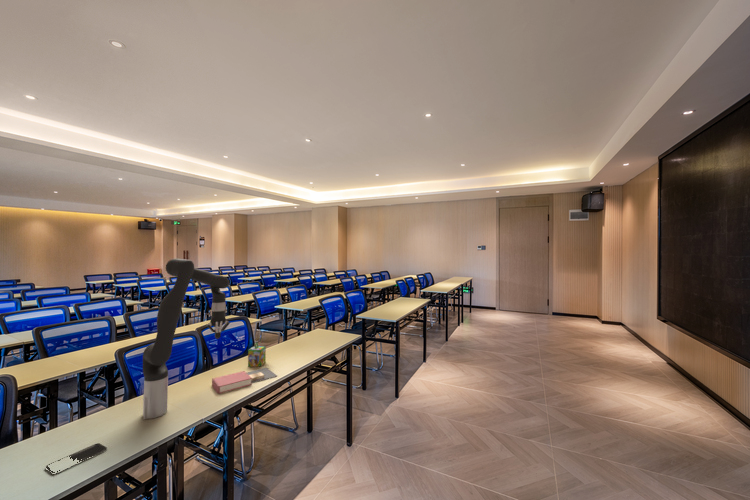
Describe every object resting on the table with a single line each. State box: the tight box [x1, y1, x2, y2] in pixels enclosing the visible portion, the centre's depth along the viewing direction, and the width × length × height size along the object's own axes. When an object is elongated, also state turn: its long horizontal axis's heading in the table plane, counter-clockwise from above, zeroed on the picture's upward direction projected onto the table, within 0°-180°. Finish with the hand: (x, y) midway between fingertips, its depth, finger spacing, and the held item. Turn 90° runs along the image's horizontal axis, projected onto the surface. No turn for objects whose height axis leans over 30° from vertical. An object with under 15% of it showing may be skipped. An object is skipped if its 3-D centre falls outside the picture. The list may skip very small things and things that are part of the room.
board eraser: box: [249, 372, 264, 382], centre depth 182 cm, size 9×6×2 cm, turn 131°
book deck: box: [211, 370, 253, 395], centre depth 173 cm, size 18×14×4 cm
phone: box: [45, 443, 108, 473], centre depth 110 cm, size 8×1×15 cm
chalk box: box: [247, 342, 267, 368], centre depth 207 cm, size 9×9×15 cm
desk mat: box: [245, 367, 278, 384], centre depth 188 cm, size 16×18×1 cm
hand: (217, 338), depth 178 cm, fingers closed
